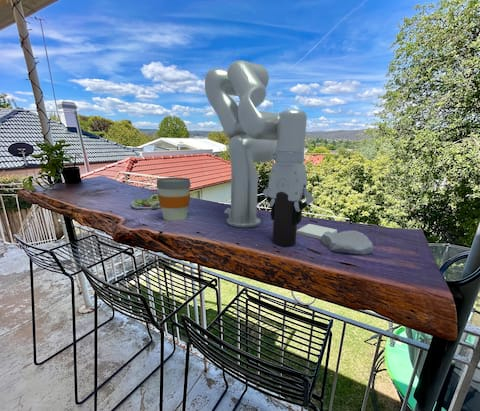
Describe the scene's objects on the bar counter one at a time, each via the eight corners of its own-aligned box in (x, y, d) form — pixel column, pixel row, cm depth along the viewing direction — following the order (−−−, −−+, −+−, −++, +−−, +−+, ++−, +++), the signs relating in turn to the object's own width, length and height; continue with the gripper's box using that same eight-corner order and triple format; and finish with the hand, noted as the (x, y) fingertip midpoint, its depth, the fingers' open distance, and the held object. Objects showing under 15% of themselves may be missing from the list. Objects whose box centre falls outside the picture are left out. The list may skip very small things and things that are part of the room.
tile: (296, 233, 80) (296, 230, 80) (308, 226, 87) (309, 223, 87) (326, 240, 74) (326, 237, 73) (337, 232, 81) (337, 229, 81)
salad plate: (173, 210, 108) (173, 200, 106) (129, 213, 101) (129, 202, 100) (169, 201, 125) (168, 192, 124) (131, 203, 119) (130, 194, 117)
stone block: (375, 261, 65) (356, 240, 74) (379, 246, 63) (360, 227, 72) (332, 262, 65) (319, 241, 74) (335, 247, 63) (321, 228, 72)
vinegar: (299, 242, 72) (305, 175, 68) (288, 249, 67) (294, 177, 62) (279, 236, 76) (283, 173, 72) (268, 242, 71) (271, 174, 67)
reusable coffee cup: (179, 223, 87) (178, 182, 84) (151, 219, 91) (148, 180, 88) (197, 215, 99) (196, 178, 95) (171, 212, 103) (169, 176, 99)
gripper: (255, 157, 69) (253, 218, 73) (314, 160, 58) (307, 231, 62) (270, 157, 74) (267, 213, 78) (325, 159, 64) (319, 224, 68)
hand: (285, 220), depth 70 cm, fingers closed on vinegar, 6 cm apart
